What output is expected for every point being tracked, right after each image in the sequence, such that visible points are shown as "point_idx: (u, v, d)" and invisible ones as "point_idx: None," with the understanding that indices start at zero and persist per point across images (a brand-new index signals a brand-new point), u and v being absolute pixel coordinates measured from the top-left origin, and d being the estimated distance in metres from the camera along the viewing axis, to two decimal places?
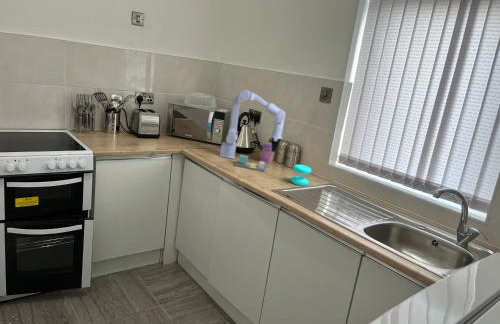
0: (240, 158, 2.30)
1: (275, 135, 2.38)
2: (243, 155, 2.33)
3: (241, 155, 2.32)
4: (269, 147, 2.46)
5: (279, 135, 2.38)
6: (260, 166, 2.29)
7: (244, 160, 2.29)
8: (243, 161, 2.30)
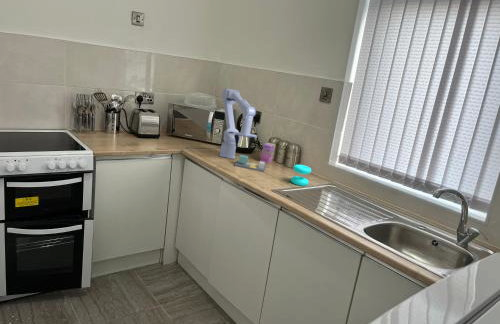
0: (240, 158, 2.30)
1: None
2: (243, 155, 2.33)
3: (241, 155, 2.32)
4: (269, 147, 2.46)
5: (242, 131, 2.29)
6: (260, 166, 2.29)
7: (244, 160, 2.29)
8: (243, 161, 2.30)
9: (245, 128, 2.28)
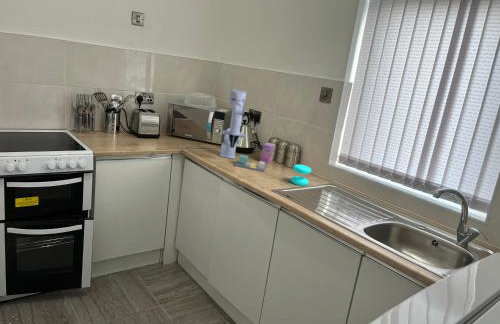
0: (240, 158, 2.30)
1: None
2: (243, 155, 2.33)
3: (241, 155, 2.32)
4: (269, 147, 2.46)
5: (230, 130, 2.27)
6: (260, 166, 2.29)
7: (244, 160, 2.29)
8: (243, 161, 2.30)
9: (233, 127, 2.26)
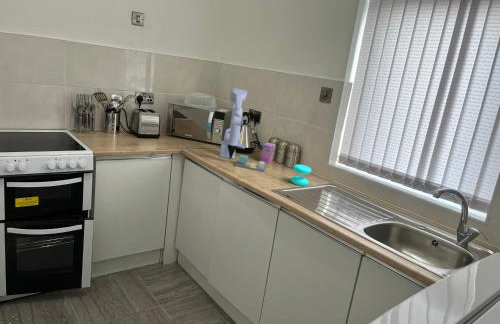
0: (240, 158, 2.30)
1: None
2: (243, 155, 2.33)
3: (241, 155, 2.32)
4: (269, 147, 2.46)
5: (229, 140, 2.29)
6: (260, 166, 2.29)
7: (244, 160, 2.29)
8: (243, 161, 2.30)
9: (231, 137, 2.27)
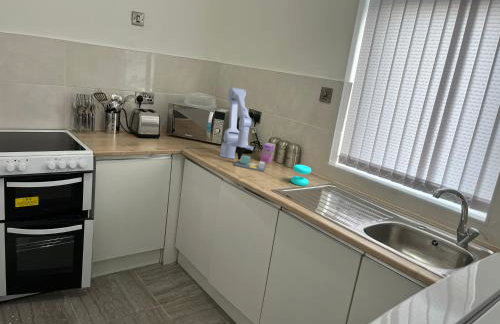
0: (242, 158, 2.29)
1: None
2: None
3: (243, 155, 2.32)
4: (269, 147, 2.46)
5: (237, 142, 2.28)
6: (260, 166, 2.29)
7: (246, 160, 2.29)
8: (245, 161, 2.30)
9: (240, 139, 2.27)
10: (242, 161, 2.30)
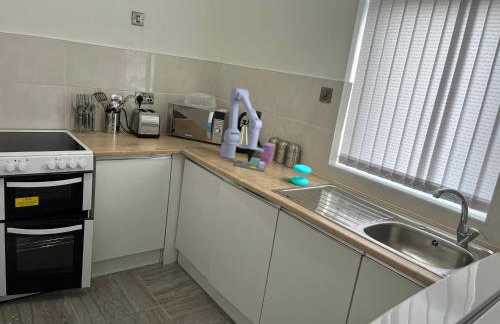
0: (252, 160, 2.29)
1: None
2: None
3: (253, 157, 2.32)
4: (269, 147, 2.46)
5: (248, 144, 2.28)
6: (260, 166, 2.29)
7: (256, 162, 2.29)
8: (255, 163, 2.29)
9: (250, 141, 2.26)
10: (252, 163, 2.29)
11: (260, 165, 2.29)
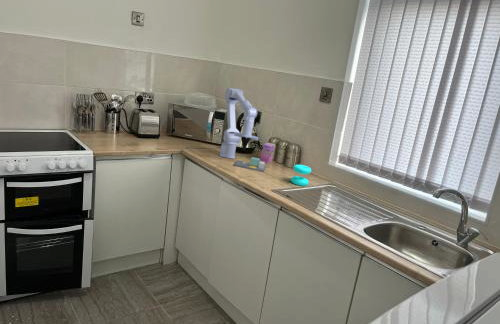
0: (252, 160, 2.29)
1: None
2: None
3: (253, 157, 2.32)
4: (269, 147, 2.46)
5: (242, 132, 2.27)
6: (260, 166, 2.29)
7: (256, 162, 2.29)
8: (255, 163, 2.29)
9: (245, 129, 2.26)
10: (252, 163, 2.29)
11: (260, 165, 2.29)
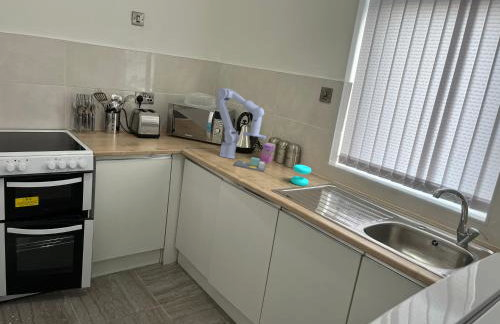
0: (252, 160, 2.29)
1: None
2: None
3: (253, 157, 2.32)
4: (269, 147, 2.46)
5: (250, 131, 2.36)
6: (260, 166, 2.29)
7: (256, 162, 2.29)
8: (255, 163, 2.29)
9: (253, 128, 2.34)
10: (252, 163, 2.29)
11: (260, 165, 2.29)
